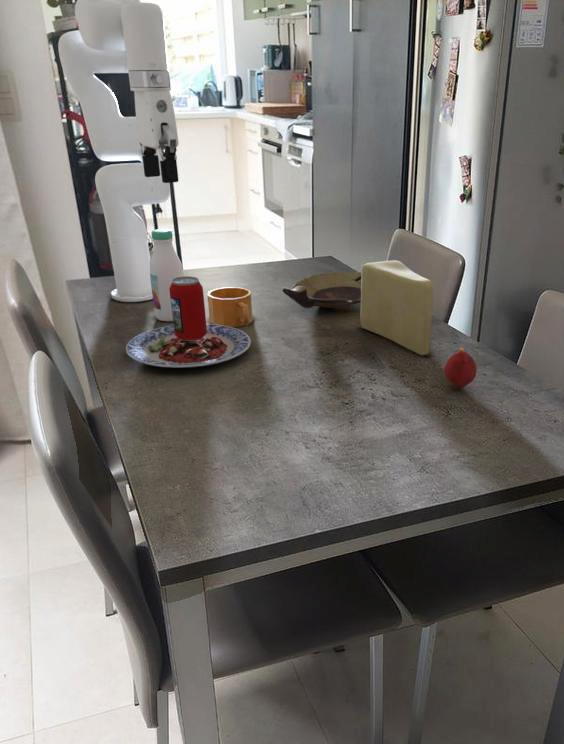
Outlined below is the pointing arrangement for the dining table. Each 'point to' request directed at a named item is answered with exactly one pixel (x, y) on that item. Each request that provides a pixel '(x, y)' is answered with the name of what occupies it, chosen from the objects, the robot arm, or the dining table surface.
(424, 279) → the cheese
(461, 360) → the onion
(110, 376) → the dining table surface
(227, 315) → the mug
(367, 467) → the dining table surface
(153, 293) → the milk bottle
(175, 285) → the beverage can
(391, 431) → the dining table surface
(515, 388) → the dining table surface
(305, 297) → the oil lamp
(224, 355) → the ceramic plate
